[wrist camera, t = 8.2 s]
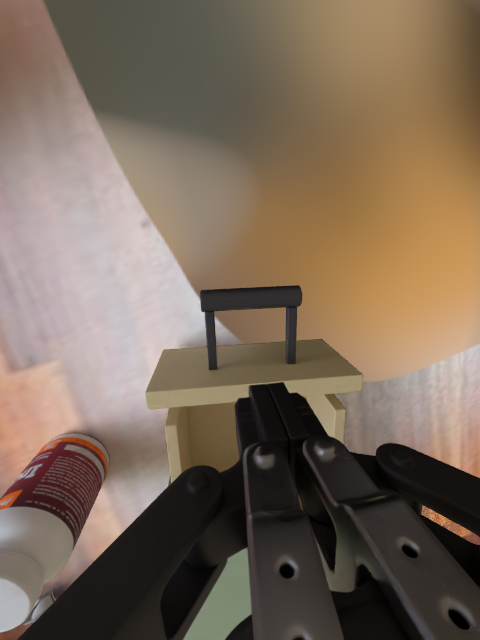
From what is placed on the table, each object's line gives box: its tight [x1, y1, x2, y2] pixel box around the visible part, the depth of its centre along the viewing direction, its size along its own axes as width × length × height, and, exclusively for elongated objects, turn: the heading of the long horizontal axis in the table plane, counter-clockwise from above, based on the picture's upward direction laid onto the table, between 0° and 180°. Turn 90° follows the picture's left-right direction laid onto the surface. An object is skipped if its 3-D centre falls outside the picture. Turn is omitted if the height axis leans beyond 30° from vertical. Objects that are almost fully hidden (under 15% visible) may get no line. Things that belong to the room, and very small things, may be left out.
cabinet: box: [168, 475, 331, 640], centre depth 26 cm, size 17×15×9 cm
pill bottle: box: [0, 434, 109, 632], centre depth 21 cm, size 6×6×11 cm
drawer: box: [145, 285, 363, 506], centre depth 22 cm, size 21×14×7 cm, turn 2°
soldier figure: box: [21, 587, 57, 625], centre depth 29 cm, size 8×5×12 cm
